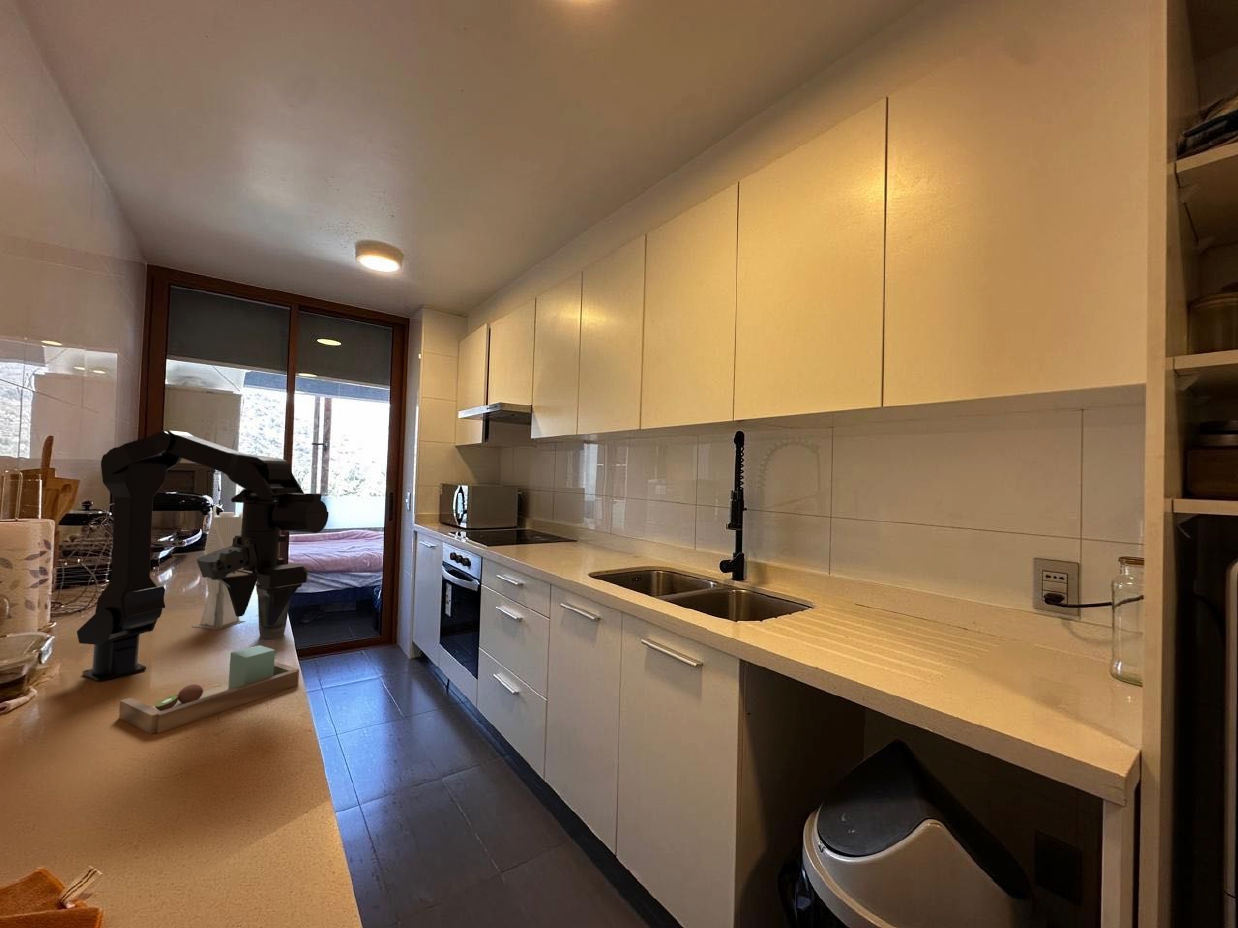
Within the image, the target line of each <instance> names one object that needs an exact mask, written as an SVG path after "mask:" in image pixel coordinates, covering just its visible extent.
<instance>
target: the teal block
mask: <svg viewBox="0 0 1238 928" xmlns="http://www.w3.org/2000/svg"><path fill="white" fill-rule="evenodd" d="M275 656H276V649H273V648H270V647H267V646H263V645H255V646H252V647H247V648H244V649H239V650H236V651H230V660H229V671H228V672H229V674H228V683H229V686H228V689H233V688H236V687H240V686H243V685H246V684H249V683H252V682H256V681H259V680H262V679H265V678H268V677H272V676H273V674H274V661H275V659H276V657H275Z"/></svg>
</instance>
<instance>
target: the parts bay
mask: <svg viewBox="0 0 1238 928" xmlns="http://www.w3.org/2000/svg"><path fill="white" fill-rule="evenodd" d="M299 676H300V668H297V667H294V666H290V665H287V664H284V663H280V662H277V661H275V660H274V674H273V676H272V677H268V678H265V679H262V680H259V681H256V682H252V683H249V684H246V685H243V686H240V687H236V688H233V689H228V686H229V682H228V683H225V684H222V685H219V686H216V687H212V688H208V689H206V690H203V694H202V696H201V697H200V698H199V699H198V700H195V701H192V702H188V703H185V704H184V703H181V702H180V701H179V700H178V701H177V703H176V704H175V705H174V706H173V707H172V708H169V709H166V710H163V711H161V710H158V709H157V708H156V707H155V705H152V706H150V705H148V704H146V703H143V702H141V701H139V700H137V699H134V698H133V697H128V698H125V699H121V700H120V702H119V711H118V712H119V714H118V718H119V719H120V720H122V721H124V722H126V723H128V724H129V725H132V726H134V727H136V728H138V729H140V730H142V731H144V732H146V733H147V734H150V735H152V734H155V733H157V734H161V733H163V732H166V731H169V730H172V729H174V728H178V727H181V726H183V725H186V724H189V723H192V722H195V721H198V720H201V719H204V718H207V717H210V716H212V715H215V714H218V713H222V712H224V711H227V710H230V709H234V708H237V707H238V706H239V707H240V706H241V705H245V704H249V703H251V702H253V701H254V702H255V701H257V700H259V699H262V698H265V697H268V696H271V695H274V694H277V693H280V692H283V691H286V690H289V689H291V688H294V687H297V686H298V685H299V679H300V677H299Z"/></svg>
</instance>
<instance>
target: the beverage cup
mask: <svg viewBox="0 0 1238 928" xmlns="http://www.w3.org/2000/svg"><path fill="white" fill-rule="evenodd" d="M255 587H256V588H255V590H256V594H257V610H258V611H257V612H258V632H259V633H258V634H259V638H260V640H261V639H262V640H272V639H273V640H274V639H278V638H282V637H284V636H285V631H286V627H287V620H288V615H289V609H290V602H291V599H290V600H289V602H288V603H287V605H286V606H285V608H284V610H283V611H282V613H281V615H280V616H279V618H278V620H277V621H276V623H275V624H274V625H271V626H268V625H267V622H266V609H265V595H264V594H263V593H262V592H261V591H259V590H258V589H257V587H260V584H259V582H258V579H257V582H256V584H255Z"/></svg>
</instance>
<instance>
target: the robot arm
mask: <svg viewBox="0 0 1238 928" xmlns="http://www.w3.org/2000/svg"><path fill="white" fill-rule="evenodd" d="M182 459H183V460H186V461H189V462H193V463H194V464H198V465H200V466H203V467H206V468H209V469H211V470H215V471H217V472H220V473H222V474H224V475H226V476H227V477H228V479H229V480H230V481H231V482H232V483H234V484H235V485H237V486H239V487H241V488H242V489H241V491H240V492H238V494H236V495H234V496H233V497H231V499H230V501H231V503H236V504H237V503H238V504H239V503H241V504H242V512H241V513H242V525H241V535H236V536H235V538H233V543H232V546H229V547H226V548H222V549H220V550H217V551H215V552H212V553H209V554H207V555H205V554H204V555H202V556H199V557H197V558H196V563H197V565H198V568H199V571H200V573H201V576H202V578H203V579H204V578H205V579H206V577H208V578H211V579H212V580H219V581H220V582H221V583H223V584H224V585H226V587H227V589H228V592H229V595H230V598H231V601H232V605H233V608H234V611H235V615H236V616H237V617H239V618H240V617H244V616H245V613H246V611H247V608H248V607H249V604H250V601H251V598H252V594H253V592H254V590H255V587H256V586H255V585H256V582H257V579H258V582H259V584H260V587H257V589H258V590H259V591H261V592H262V593H263V594H264V595H265V609H266V622H267V625H268V626H271V625H274V624H275V623H276V621H277V620H278V618H279V616H280V615H281V613H282V611H283V610H284V608H285V606H286V605H287V603H288V602H289V600H290V601H291V599H292V598H293V596H294V594H295V593H296V592H297V590H298V589H299V588H302V586H303V584H306V583H308V579H309V578H308V577H309V576H308V575H309V570H308V569H307V568H306V567H304V566H303V565H298V564H293V563H289V564H285V562H286V561H285V558H283V557H280V550H281V543H283V542H287V535H284V534H282V532H288V533H289V532H291V533H308V534H318V533H320V532H321V531H323V530H324V529H325V527H326V525H327V523H328V521H329V513H330V512H329V511H328V508H327V505H326V503H325V502H324V501H323V500H322V494H321V493H315V492H314V493H313V492H311V493H305V492H304V491H303V488H302V487H301V485H300V484H299V482H298V481H297V479H296V477H295V476H294V474H293V473H292V468H291V467H290V466H291V465H290V463H289V461H287V460H286V459H284V458H277V457H272V456H271V457H270V456H263V455H255V454H249V453H243V452H242V451H241V452H240V451H237V450H235V449H232V448H229V447H225V446H222V445H220V444H218V443H215V442H211V441H209V440H207V439H206V440H205V439H203V438H200V437H198V436H194V435H192V434H191V433H189V432H185V431H179V430H178V431H177V430H167V429H164V430H160V431H157V432H154V433H153V434H151V435H149V436H147V437H144V438H140V439H136V440H133V441H130V442H127V443H123V444H122V445H120V446H117V447H112V448H111V449H109V450H108V451H107V452H106V453H104V454H103V455H102V457H101V461H100V467H101V468H100V469H101V477H102V483H103V485H104V486H105V487H106V489H107V490H108V491H109V493H110V494H111V495H112V497H113V499H114V506H113V528H112V549H111V551H112V553H111V554H112V555H111V573H110V575H111V576H110V577H111V578H110V581H109V583H108V584H107V585H106V587H105V588H104V590H103V591H102V592H101V594H100V595H99V596H98V599H97V601H96V602H97V603H96V606H95V610H94V611H95V613H94V614H93V615H92V616H91V617H90V618H89V619H88V620H87V621H86V622H85V623H84V624H83V625H82V626H81V627H80V628H78V629H77V631H76V635H77V639H78V643H79V644H86V645H93V652H92V653H93V655H92V656H93V657H92V667H91V668H90V669H86V670H82V675H83V676H85V677H88V678H90V679H91V680H94V681H97V682H101V681H106V680H110V679H114V678H117V677H121V676H125V675H129V674H134V673H138V672H142V671H145V670H147V666H146V665H143V664H141V663H138V659H139V647H140V635H142V634H146V633H151V632H153V631H154V629H155V627H156V624H157V622H158V620H159V618H161V615H162V613H163V609H165V608H166V605H165V594H166V589H165V586H164V585H160V586H159V585H157V584H156V583H155V581H154V580H153V579H152V578H151V558H152V557H151V556H152V553H151V551H152V528H153V503H154V497H155V495H156V494H157V493H158V492H159V490H160V489H161V488H162V486H163V485H164V484H165V482H166V481H165V480H166V477H167V471H169V470H170V469H172V468H173V467H176V466H177V465H179V464H180V463H181V461H182Z"/></svg>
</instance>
